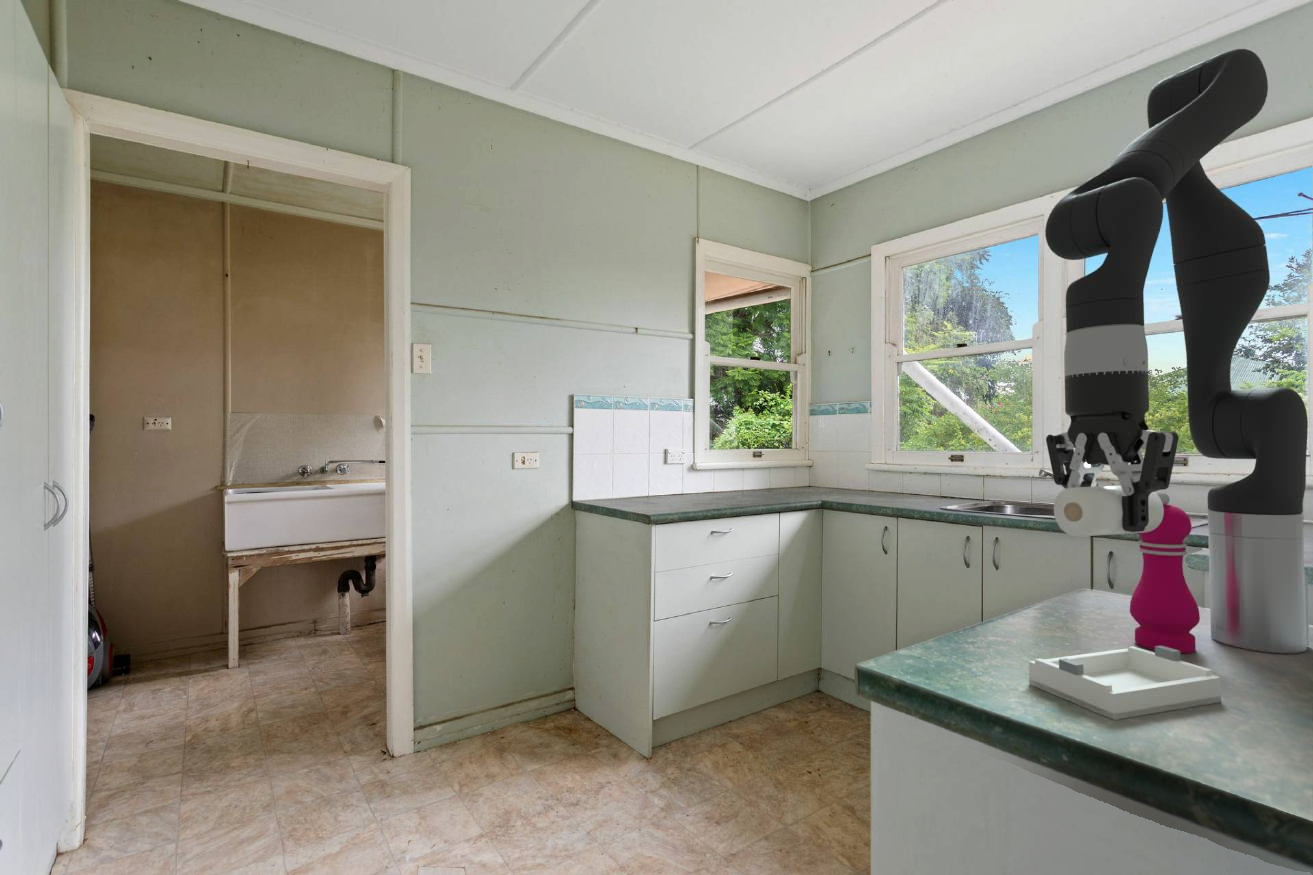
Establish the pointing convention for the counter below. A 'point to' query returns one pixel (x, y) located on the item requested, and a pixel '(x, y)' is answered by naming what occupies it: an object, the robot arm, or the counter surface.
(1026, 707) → the counter surface
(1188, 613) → the pepper mill
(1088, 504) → the paper roll
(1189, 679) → the holder
